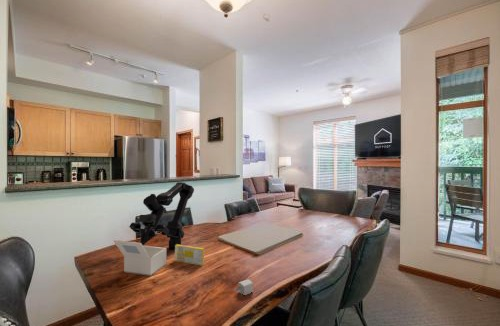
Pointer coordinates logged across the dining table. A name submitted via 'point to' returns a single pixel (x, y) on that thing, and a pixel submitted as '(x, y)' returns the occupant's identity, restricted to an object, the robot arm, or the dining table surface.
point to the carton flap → (132, 249)
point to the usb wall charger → (245, 287)
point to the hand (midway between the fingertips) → (141, 245)
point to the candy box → (189, 254)
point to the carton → (146, 262)
